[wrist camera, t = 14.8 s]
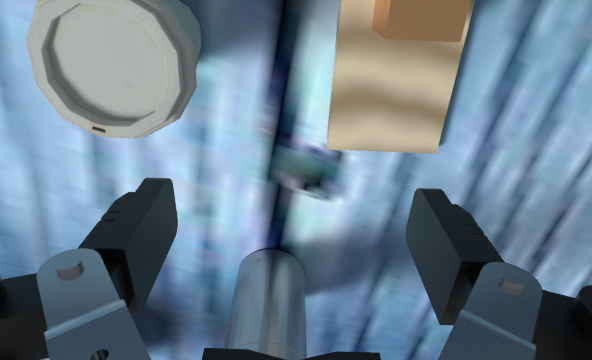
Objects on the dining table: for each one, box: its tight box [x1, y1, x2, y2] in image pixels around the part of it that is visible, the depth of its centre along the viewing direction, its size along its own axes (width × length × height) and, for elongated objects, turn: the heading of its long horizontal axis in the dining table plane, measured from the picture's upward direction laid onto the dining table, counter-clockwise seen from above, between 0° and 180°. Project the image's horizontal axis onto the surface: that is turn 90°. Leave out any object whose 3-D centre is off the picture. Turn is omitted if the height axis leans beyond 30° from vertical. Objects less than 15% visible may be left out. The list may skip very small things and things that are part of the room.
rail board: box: [327, 0, 475, 153], centre depth 35 cm, size 22×12×4 cm, turn 178°
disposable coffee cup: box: [26, 0, 201, 138], centre depth 30 cm, size 11×11×15 cm
